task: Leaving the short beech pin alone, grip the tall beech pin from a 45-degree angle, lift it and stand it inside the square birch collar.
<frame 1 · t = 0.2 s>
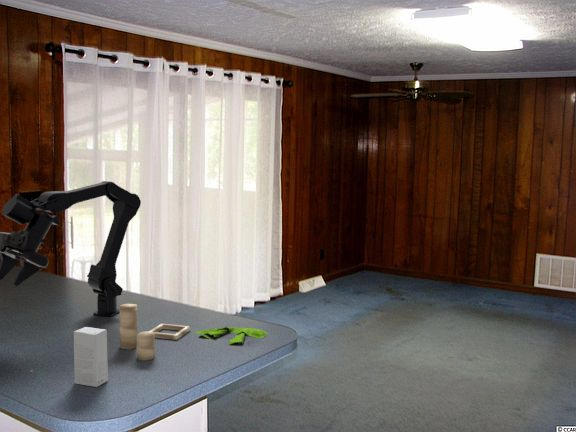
hand: (6, 282, 160), 15 cm above the kitchen counter, tool tilted 30°, fingers open, 9 cm apart
short beech pin: (145, 357, 147), on the kitchen counter
skincare box: (91, 383, 130), on the kitchen counter
tall beech pin: (128, 346, 155), on the kitchen counter
pastry: (93, 365, 142), on the kitchen counter
birch collar: (168, 333, 166), on the kitchen counter
cloth: (227, 339, 165), on the kitchen counter
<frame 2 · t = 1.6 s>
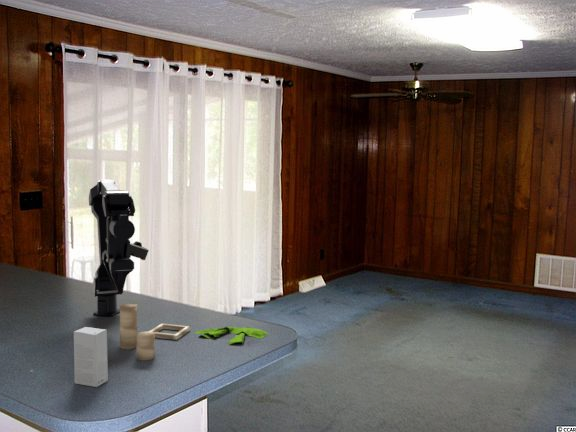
hand: (117, 289, 167), 12 cm above the kitchen counter, tool pointing down, fingers open, 9 cm apart
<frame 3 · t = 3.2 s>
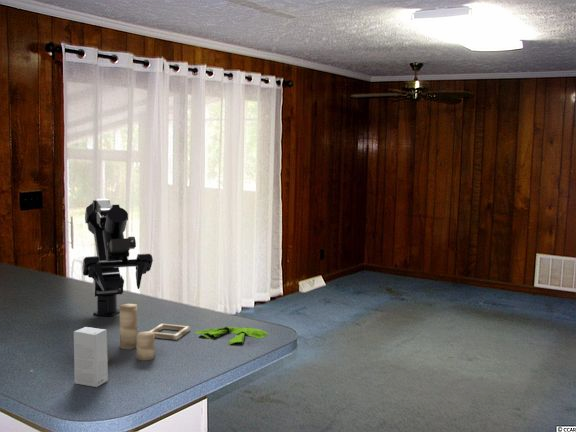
hand: (121, 289, 161), 13 cm above the kitchen counter, tool tilted 45°, fingers open, 9 cm apart
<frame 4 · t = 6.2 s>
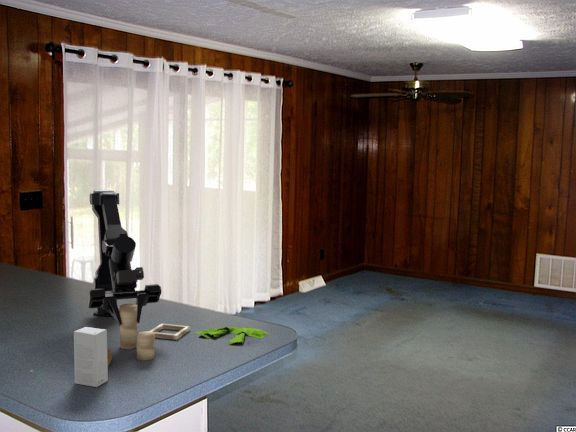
hand: (129, 323, 153), 7 cm above the kitchen counter, tool tilted 45°, fingers closed on tall beech pin, 4 cm apart
tall beech pin: (128, 346, 155), on the kitchen counter, touching gripper
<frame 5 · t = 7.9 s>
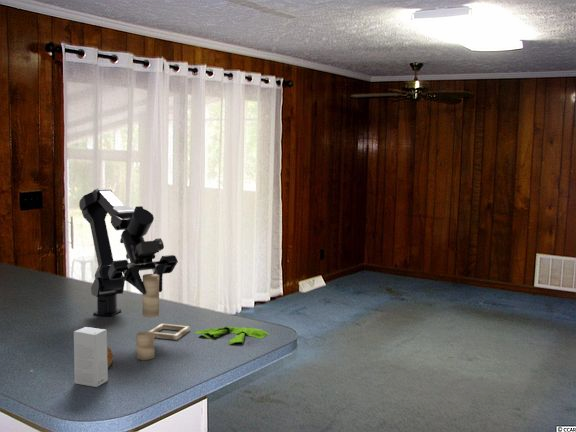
hand: (153, 292, 158), 13 cm above the kitchen counter, tool tilted 45°, fingers closed on tall beech pin, 4 cm apart
tall beech pin: (150, 314, 160), point 7 cm above the kitchen counter, touching gripper
when the fingers open (8 cm above the kitchen counter, at t = 10.1 s): tall beech pin drops 1 cm, resting in birch collar.
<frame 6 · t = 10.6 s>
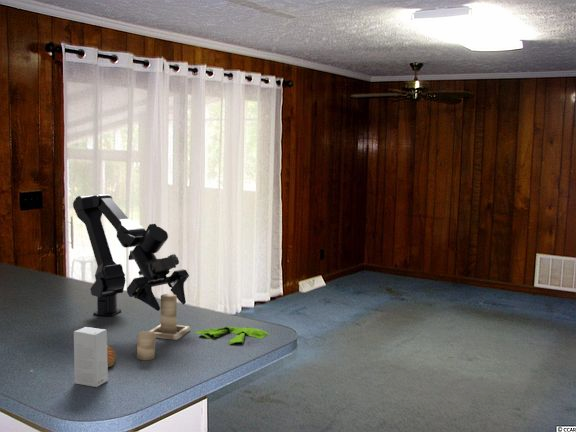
hand: (172, 306, 164), 8 cm above the kitchen counter, tool tilted 45°, fingers open, 9 cm apart
tall beech pin: (168, 333, 166), resting in birch collar
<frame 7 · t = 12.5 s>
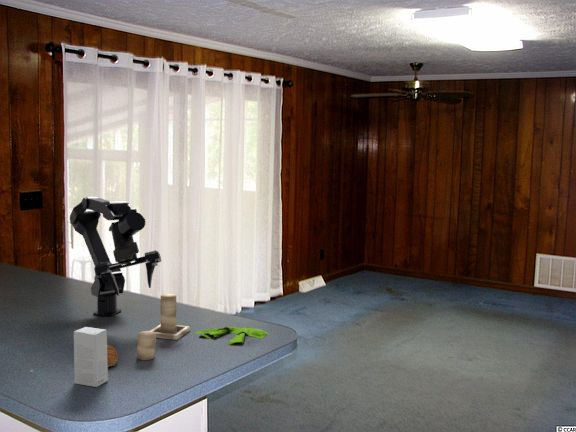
hand: (134, 291, 170), 11 cm above the kitchen counter, tool tilted 25°, fingers open, 9 cm apart
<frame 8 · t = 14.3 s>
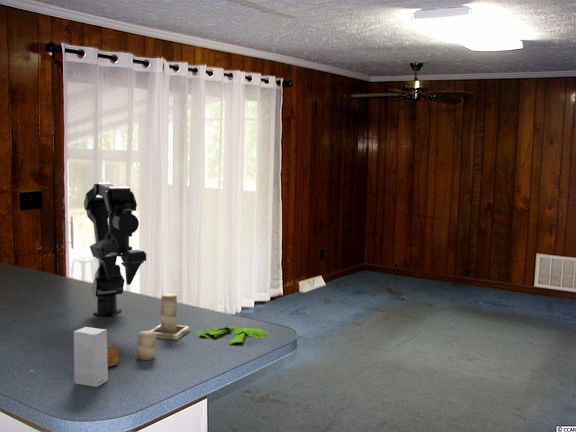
hand: (119, 282, 171), 13 cm above the kitchen counter, tool pointing down, fingers open, 9 cm apart
at the end: tall beech pin 0.1 cm off-centre on the birch collar, point 0.0 cm above the birch collar's base; tall beech pin tilted 1°; the gripper is holding nothing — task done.
